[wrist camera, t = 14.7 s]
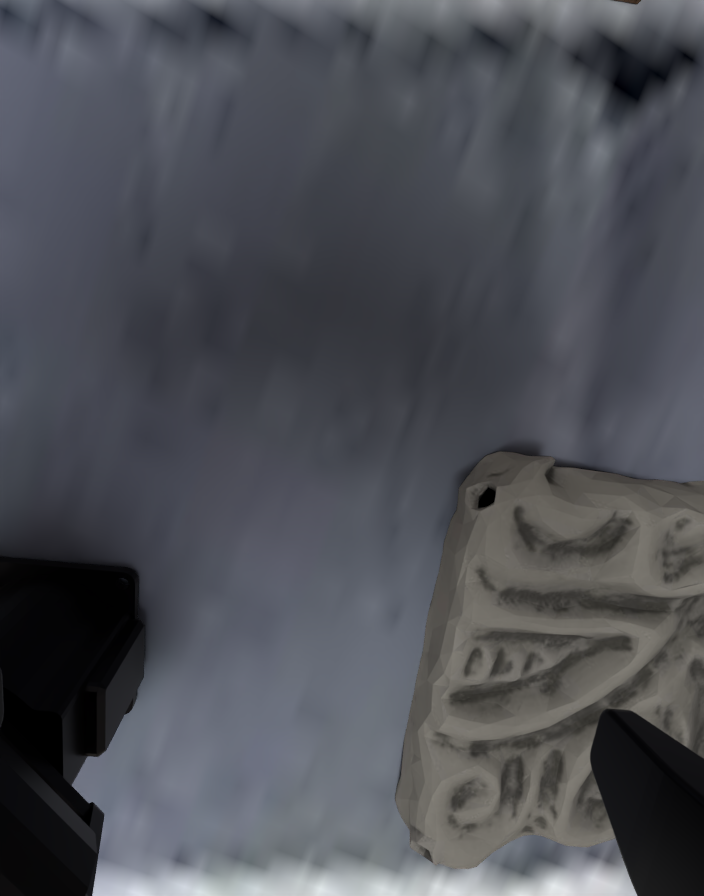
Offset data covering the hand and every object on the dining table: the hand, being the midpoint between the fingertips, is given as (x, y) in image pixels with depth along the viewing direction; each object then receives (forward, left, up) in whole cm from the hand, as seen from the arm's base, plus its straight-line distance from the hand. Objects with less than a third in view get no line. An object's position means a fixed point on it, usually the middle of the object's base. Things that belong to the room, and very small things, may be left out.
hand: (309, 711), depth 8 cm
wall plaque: (+17, -8, -14) cm, 23 cm away
